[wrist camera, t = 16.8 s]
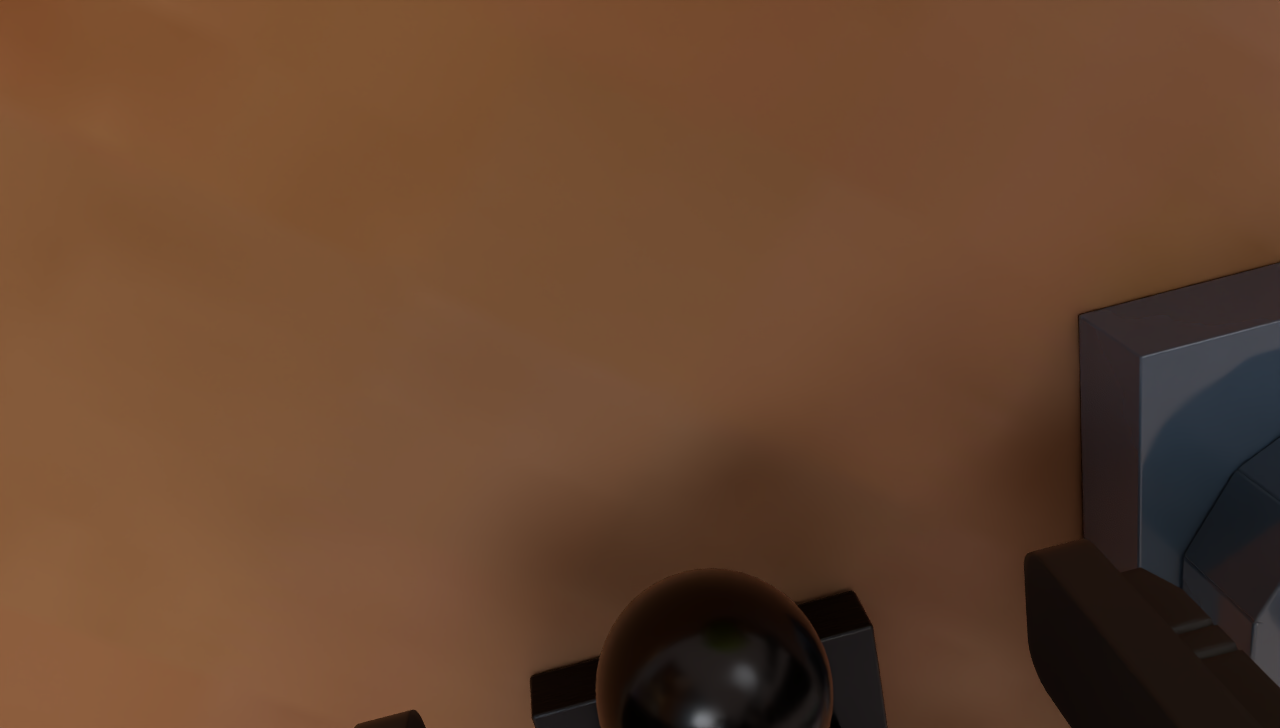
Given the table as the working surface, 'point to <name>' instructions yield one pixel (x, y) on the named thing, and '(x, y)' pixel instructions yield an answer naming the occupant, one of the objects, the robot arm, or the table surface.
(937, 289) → the table surface
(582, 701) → the flush bracket
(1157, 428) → the flush plate
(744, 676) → the flush lever
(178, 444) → the table surface
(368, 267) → the table surface
